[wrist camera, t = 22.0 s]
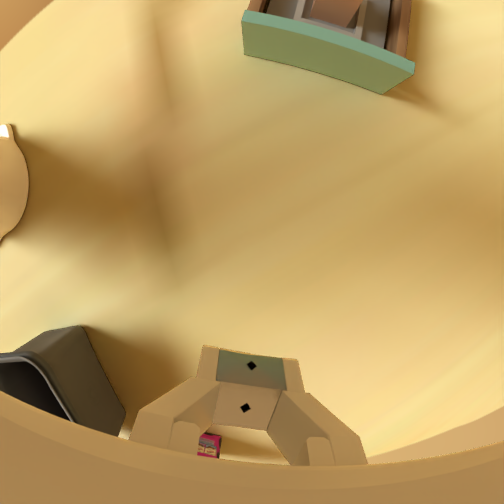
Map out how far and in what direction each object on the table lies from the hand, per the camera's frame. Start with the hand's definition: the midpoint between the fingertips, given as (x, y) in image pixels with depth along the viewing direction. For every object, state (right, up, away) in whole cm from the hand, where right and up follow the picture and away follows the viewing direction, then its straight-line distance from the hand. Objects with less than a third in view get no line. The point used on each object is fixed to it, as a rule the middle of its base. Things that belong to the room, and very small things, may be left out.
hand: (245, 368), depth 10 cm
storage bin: (-26, -15, +33) cm, 45 cm away
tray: (+10, +32, +22) cm, 40 cm away
